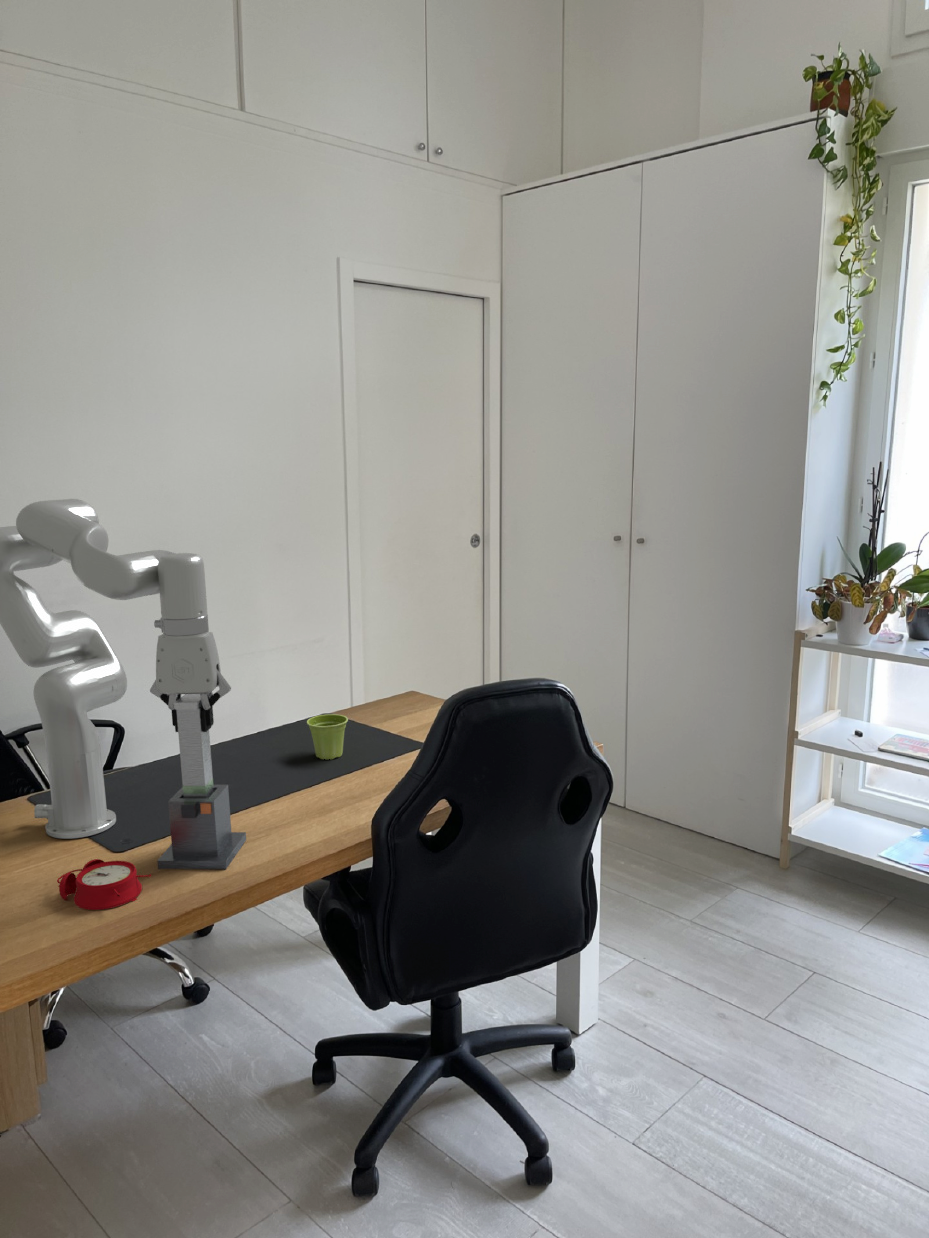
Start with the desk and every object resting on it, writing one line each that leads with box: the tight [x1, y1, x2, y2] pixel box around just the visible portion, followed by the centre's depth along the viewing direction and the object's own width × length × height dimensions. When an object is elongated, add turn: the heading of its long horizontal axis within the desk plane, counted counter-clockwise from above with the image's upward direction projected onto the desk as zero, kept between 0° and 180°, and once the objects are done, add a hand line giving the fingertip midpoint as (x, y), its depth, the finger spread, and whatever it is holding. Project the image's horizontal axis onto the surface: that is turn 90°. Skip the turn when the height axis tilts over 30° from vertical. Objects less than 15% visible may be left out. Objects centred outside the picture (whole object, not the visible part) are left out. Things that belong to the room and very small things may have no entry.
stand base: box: [156, 784, 247, 870], centre depth 165 cm, size 12×12×12 cm
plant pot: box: [306, 713, 349, 760], centre depth 217 cm, size 9×9×9 cm
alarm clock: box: [56, 858, 152, 911], centre depth 152 cm, size 10×6×15 cm
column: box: [174, 694, 214, 798], centre depth 163 cm, size 4×6×21 cm
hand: (193, 728), depth 162 cm, fingers closed on column, 4 cm apart
